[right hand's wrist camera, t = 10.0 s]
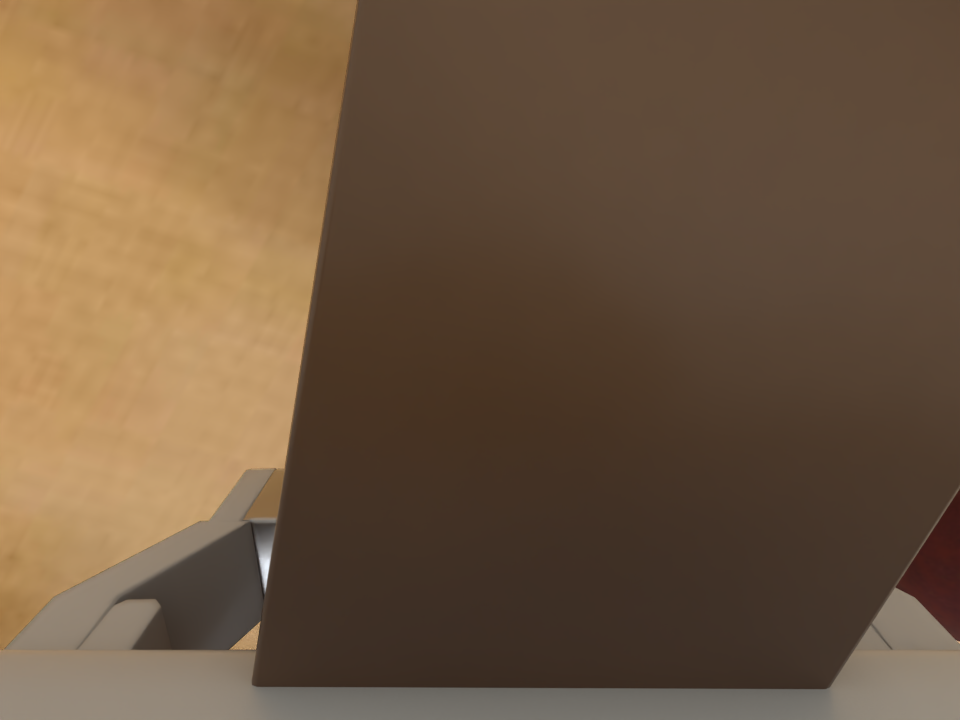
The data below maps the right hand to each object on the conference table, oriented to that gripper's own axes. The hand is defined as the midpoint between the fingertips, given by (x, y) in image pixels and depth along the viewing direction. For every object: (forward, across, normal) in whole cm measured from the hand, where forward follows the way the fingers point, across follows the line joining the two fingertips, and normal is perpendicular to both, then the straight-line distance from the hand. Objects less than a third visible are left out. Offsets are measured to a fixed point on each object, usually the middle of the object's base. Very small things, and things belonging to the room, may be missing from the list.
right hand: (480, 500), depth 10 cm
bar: (+4, -2, -8) cm, 9 cm away
